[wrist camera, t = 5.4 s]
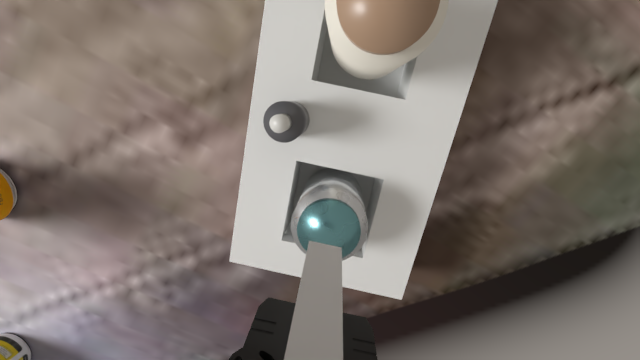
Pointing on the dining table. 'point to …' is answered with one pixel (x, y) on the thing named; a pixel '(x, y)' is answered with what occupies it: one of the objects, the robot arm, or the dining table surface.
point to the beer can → (6, 195)
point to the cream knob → (381, 33)
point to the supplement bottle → (13, 348)
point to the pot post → (286, 121)
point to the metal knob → (331, 212)
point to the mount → (353, 139)
